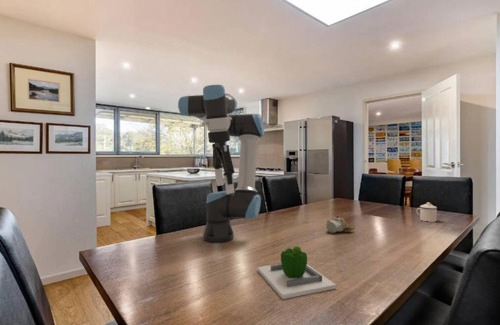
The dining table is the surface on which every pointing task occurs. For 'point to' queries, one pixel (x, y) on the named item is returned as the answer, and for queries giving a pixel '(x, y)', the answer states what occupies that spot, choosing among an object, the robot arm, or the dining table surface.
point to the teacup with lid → (428, 212)
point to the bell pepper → (294, 262)
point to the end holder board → (295, 281)
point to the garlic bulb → (337, 225)
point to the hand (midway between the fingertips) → (224, 189)
